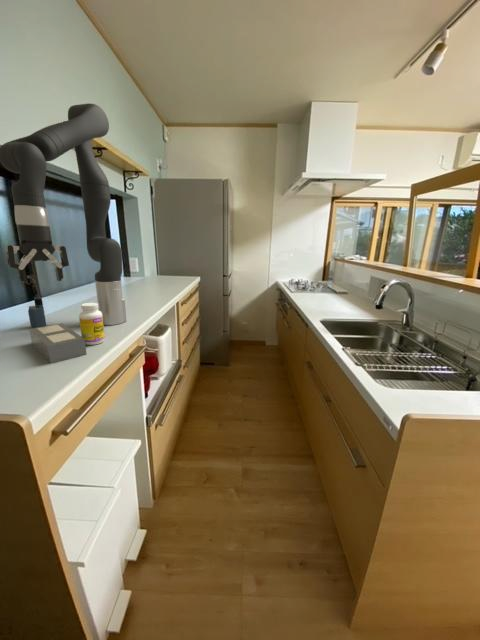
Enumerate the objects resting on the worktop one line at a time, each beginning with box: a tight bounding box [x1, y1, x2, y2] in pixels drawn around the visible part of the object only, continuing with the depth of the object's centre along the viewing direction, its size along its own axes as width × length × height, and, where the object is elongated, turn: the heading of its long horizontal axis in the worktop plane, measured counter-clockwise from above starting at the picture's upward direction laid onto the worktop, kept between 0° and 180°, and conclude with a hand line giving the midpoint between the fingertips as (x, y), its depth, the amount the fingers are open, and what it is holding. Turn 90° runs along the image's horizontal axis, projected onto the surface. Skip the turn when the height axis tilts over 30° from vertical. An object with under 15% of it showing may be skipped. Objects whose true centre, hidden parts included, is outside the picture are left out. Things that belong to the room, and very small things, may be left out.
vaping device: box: [27, 294, 47, 329], centre depth 101 cm, size 3×5×12 cm, turn 162°
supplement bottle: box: [78, 302, 106, 346], centre depth 87 cm, size 7×7×13 cm
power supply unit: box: [28, 323, 88, 364], centre depth 82 cm, size 9×20×5 cm, turn 48°
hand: (42, 281), depth 80 cm, fingers open, 8 cm apart
